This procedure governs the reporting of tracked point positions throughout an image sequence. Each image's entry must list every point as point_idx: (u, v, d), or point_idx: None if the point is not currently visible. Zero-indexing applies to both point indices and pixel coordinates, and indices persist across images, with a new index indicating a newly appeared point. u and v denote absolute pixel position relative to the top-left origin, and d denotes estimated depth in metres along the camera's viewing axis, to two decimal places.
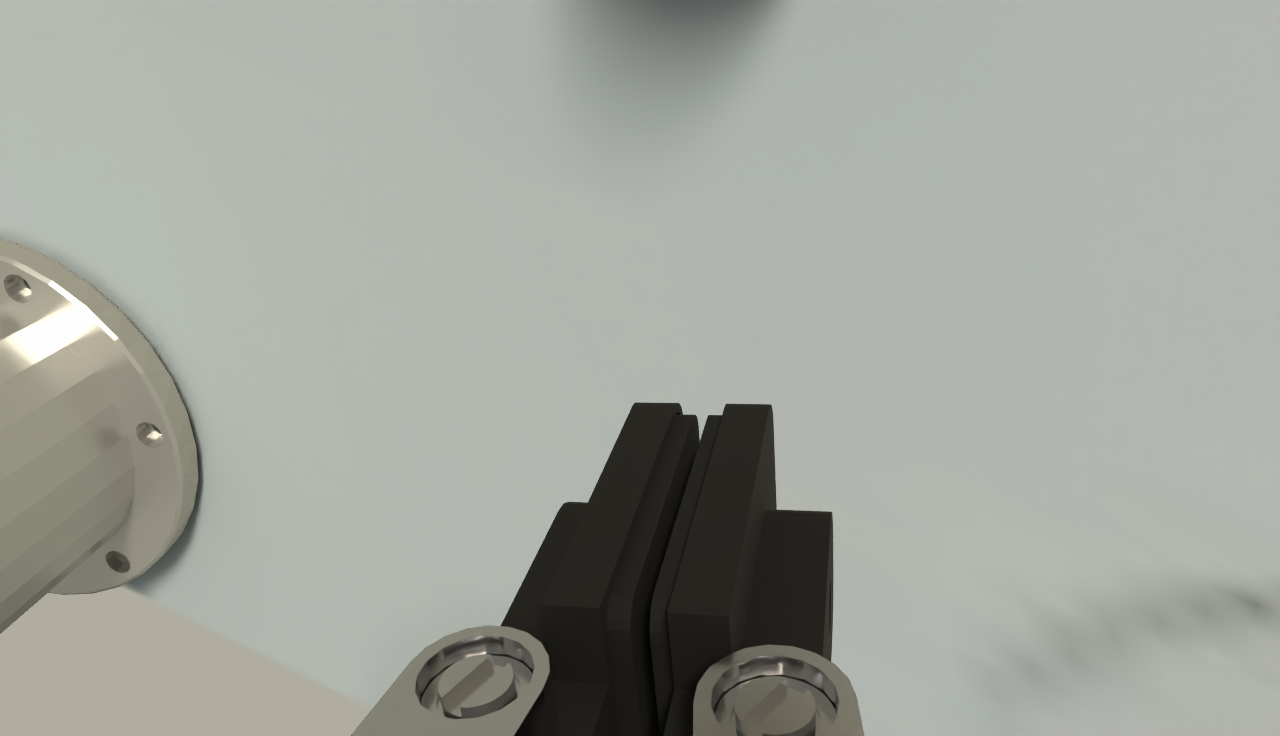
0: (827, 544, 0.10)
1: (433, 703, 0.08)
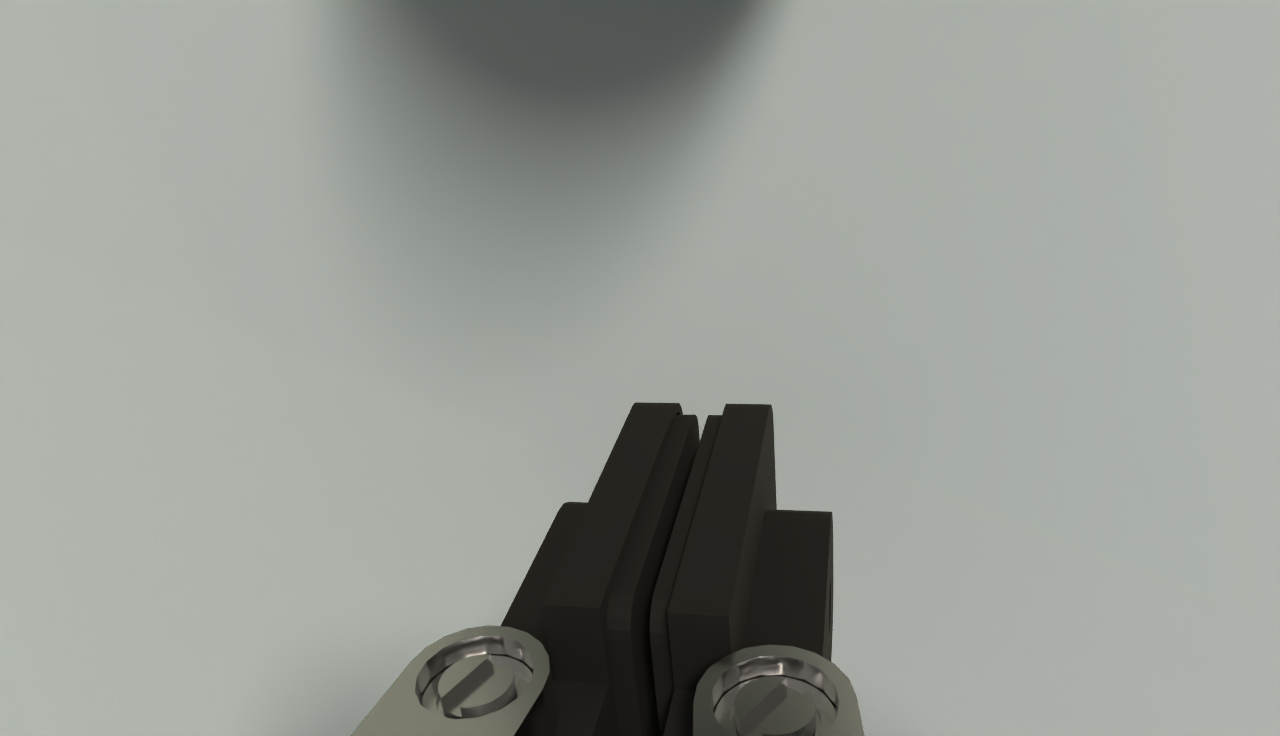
0: (827, 544, 0.10)
1: (433, 703, 0.08)
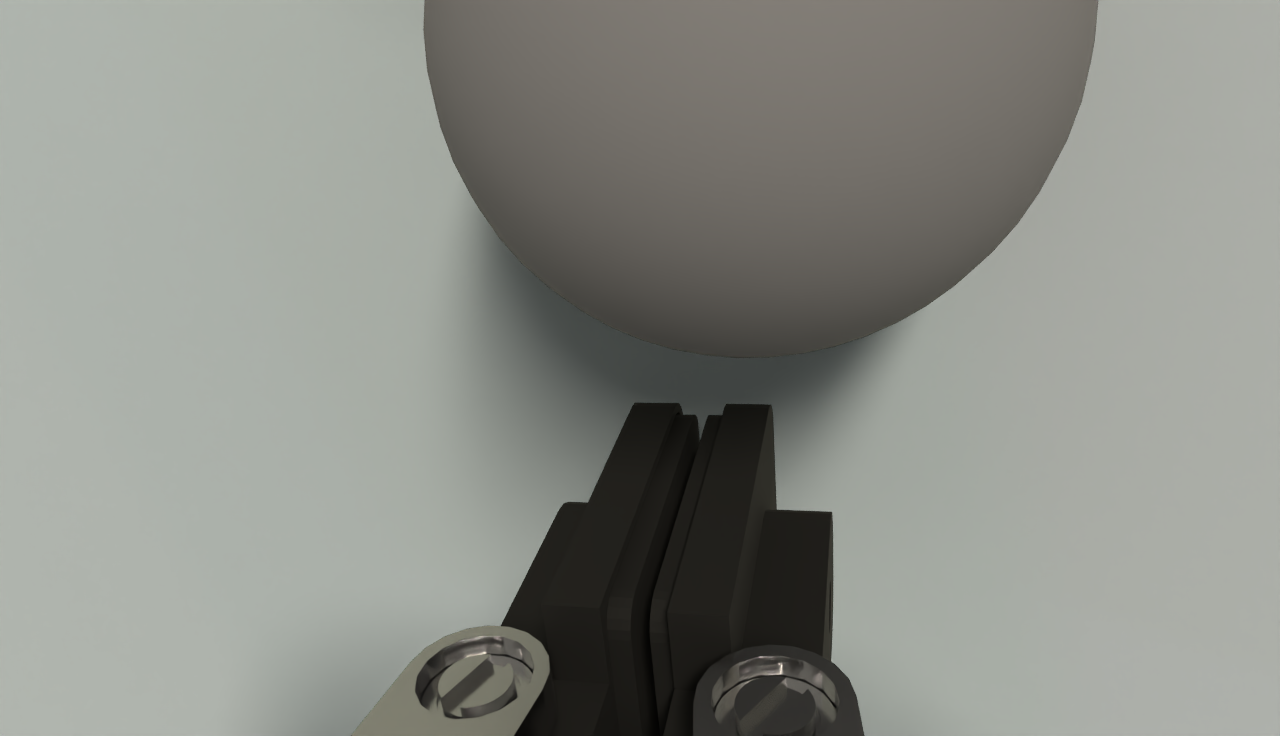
0: (827, 544, 0.10)
1: (433, 703, 0.08)
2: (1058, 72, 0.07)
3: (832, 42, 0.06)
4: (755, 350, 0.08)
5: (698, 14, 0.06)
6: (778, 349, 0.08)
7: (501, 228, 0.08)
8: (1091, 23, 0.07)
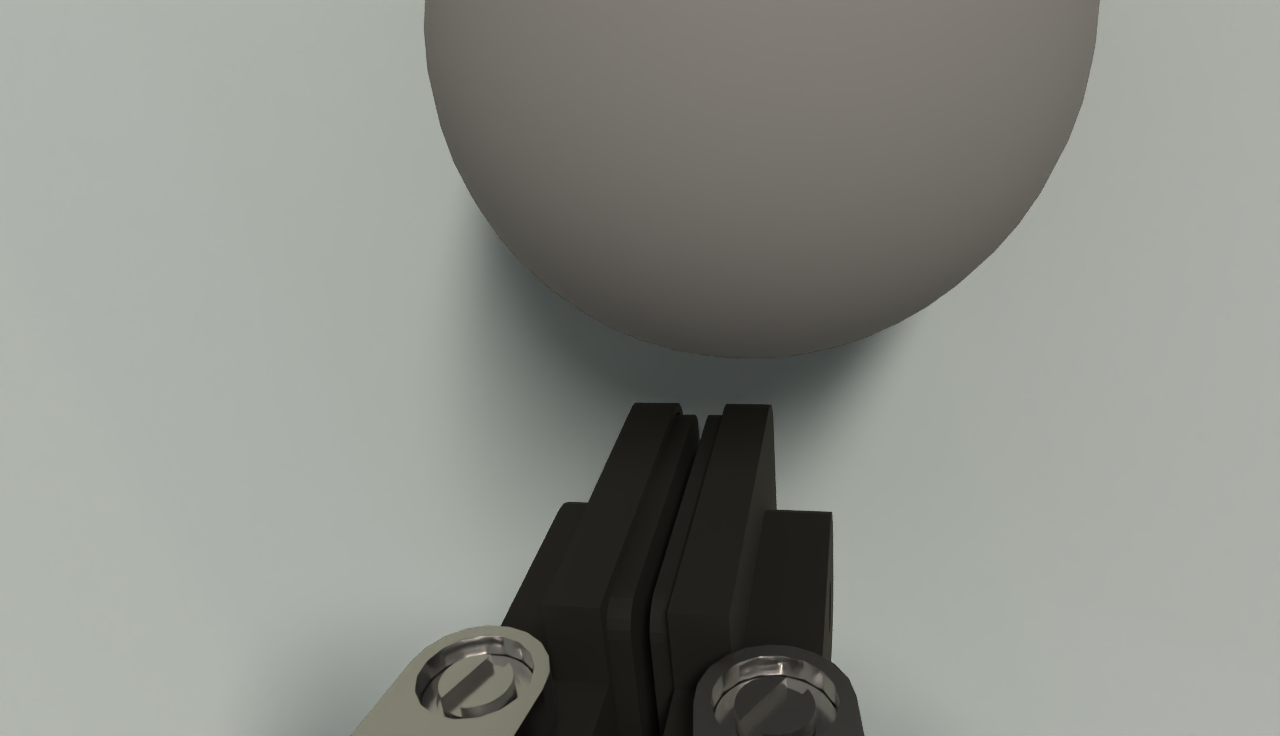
0: (827, 544, 0.10)
1: (433, 703, 0.08)
2: (1059, 73, 0.07)
3: (832, 44, 0.06)
4: (756, 351, 0.08)
5: (698, 16, 0.06)
6: (779, 350, 0.08)
7: (502, 229, 0.08)
8: (1092, 24, 0.07)
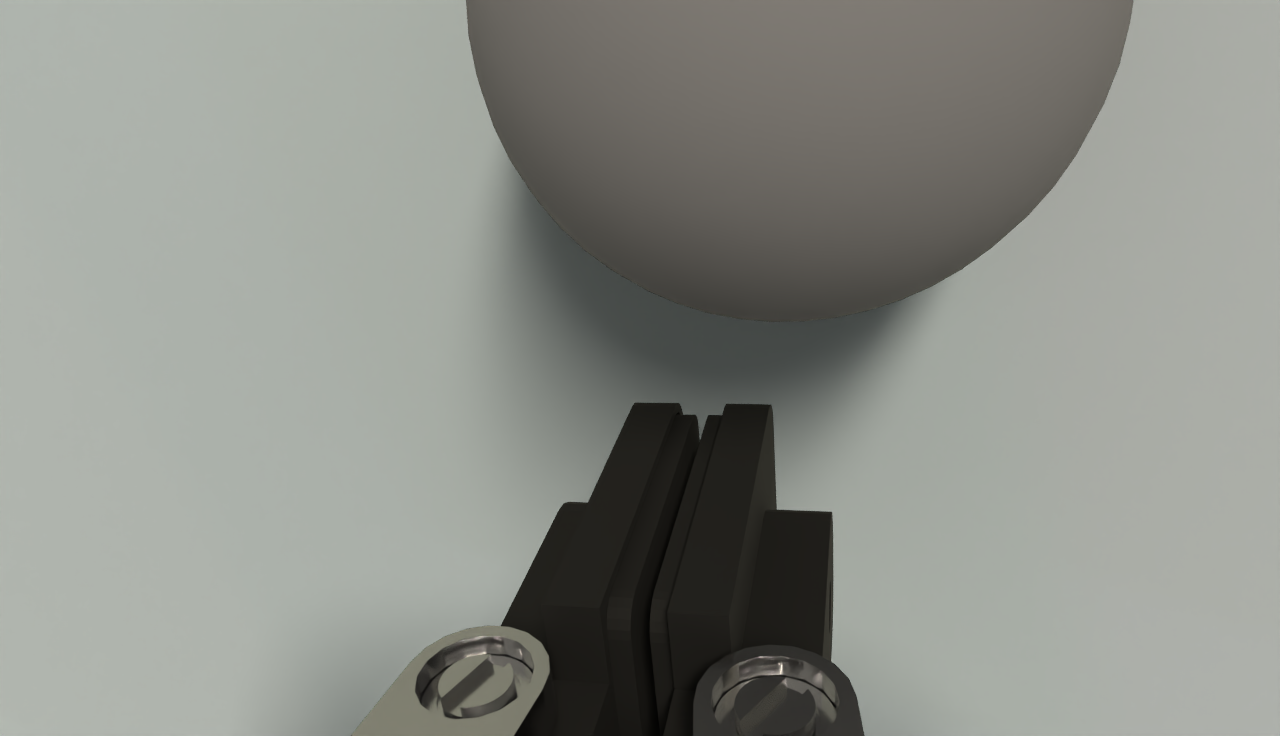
0: (827, 544, 0.10)
1: (433, 703, 0.08)
2: (1099, 31, 0.07)
3: None
4: (792, 312, 0.08)
5: None
6: (815, 311, 0.08)
7: (542, 190, 0.08)
8: None
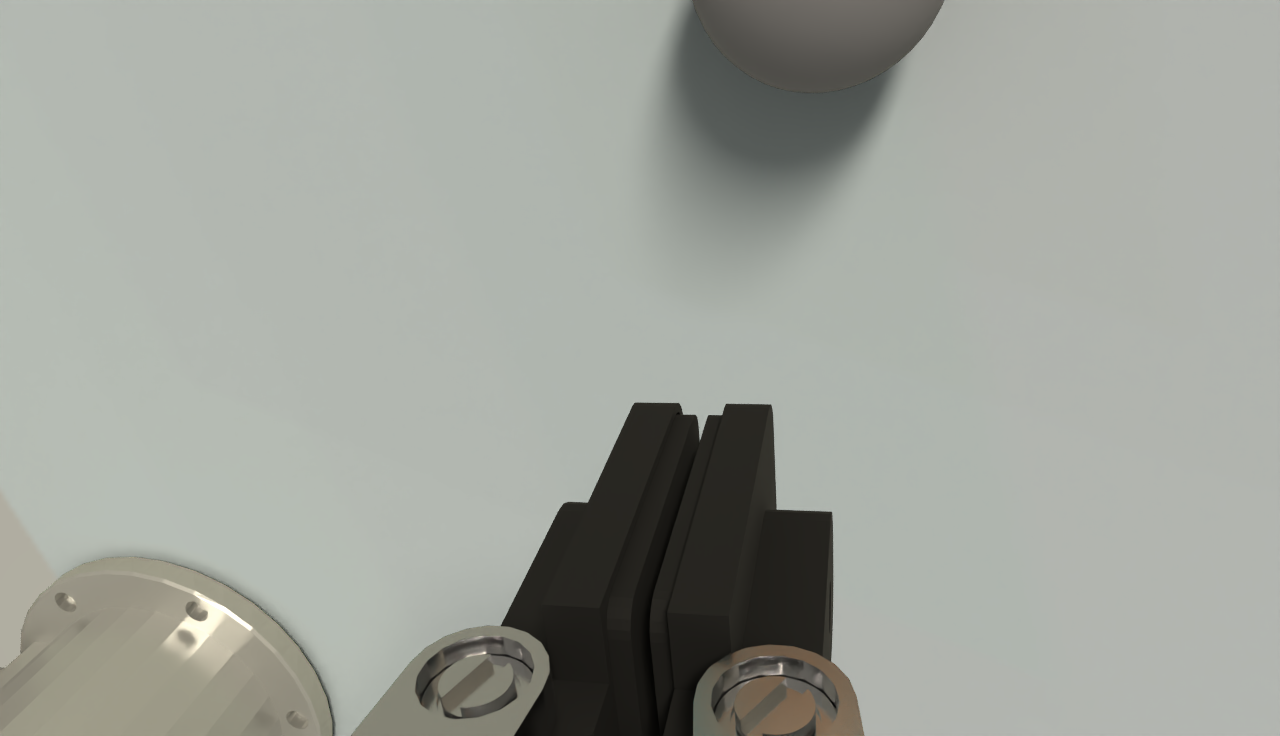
0: (827, 544, 0.10)
1: (433, 703, 0.08)
2: None
3: None
4: (823, 77, 0.20)
5: None
6: (832, 77, 0.20)
7: (722, 28, 0.20)
8: None
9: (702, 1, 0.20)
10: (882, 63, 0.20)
